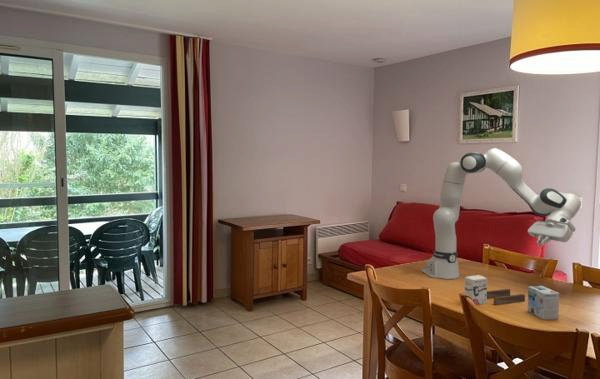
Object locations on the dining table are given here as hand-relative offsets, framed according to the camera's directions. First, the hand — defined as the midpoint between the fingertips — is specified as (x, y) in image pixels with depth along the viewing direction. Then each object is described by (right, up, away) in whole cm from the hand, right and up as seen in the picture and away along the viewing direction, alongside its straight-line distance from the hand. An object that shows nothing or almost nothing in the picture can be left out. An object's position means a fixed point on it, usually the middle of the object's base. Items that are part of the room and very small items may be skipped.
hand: (539, 244), depth 201 cm
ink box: (-34, -25, -9) cm, 43 cm away
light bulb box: (-13, -26, -25) cm, 38 cm away
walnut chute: (-20, -25, -5) cm, 32 cm away
